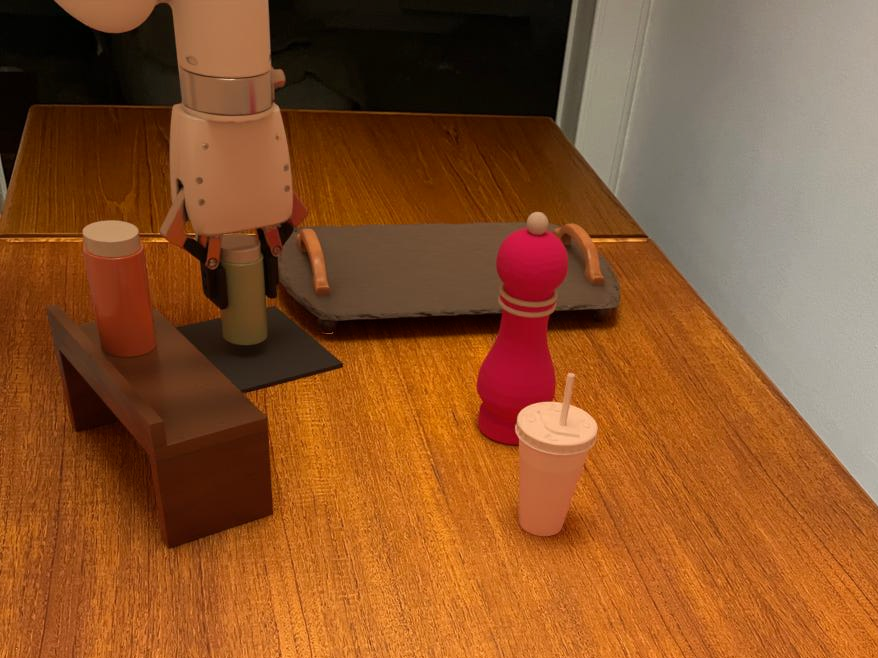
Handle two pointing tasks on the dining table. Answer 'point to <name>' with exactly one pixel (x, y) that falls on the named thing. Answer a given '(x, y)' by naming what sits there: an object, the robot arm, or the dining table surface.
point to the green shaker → (243, 290)
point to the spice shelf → (173, 424)
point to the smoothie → (551, 460)
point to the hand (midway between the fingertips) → (242, 296)
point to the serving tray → (426, 271)
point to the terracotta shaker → (119, 288)
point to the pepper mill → (522, 329)
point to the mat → (262, 352)
